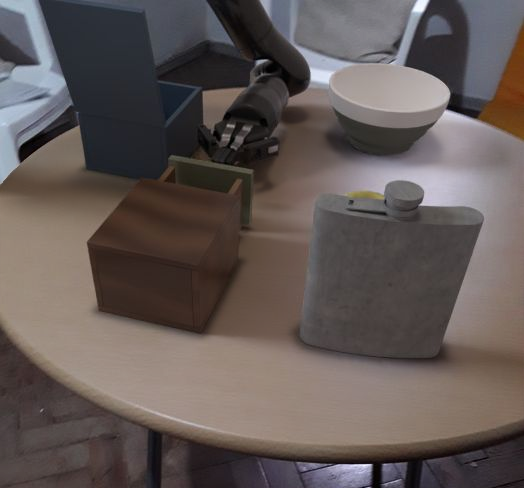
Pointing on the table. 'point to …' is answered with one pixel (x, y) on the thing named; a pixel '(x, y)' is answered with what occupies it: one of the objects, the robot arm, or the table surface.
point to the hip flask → (385, 272)
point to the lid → (106, 59)
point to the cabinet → (166, 253)
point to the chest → (144, 136)
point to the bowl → (386, 105)
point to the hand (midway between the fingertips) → (218, 167)
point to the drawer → (214, 180)
